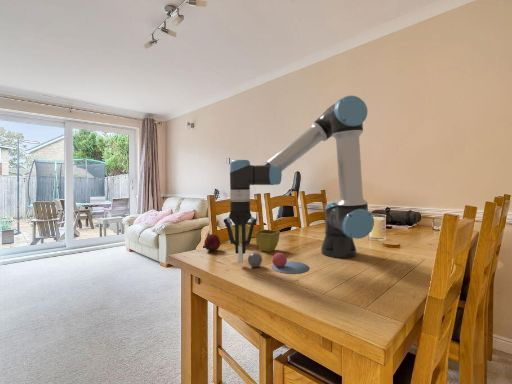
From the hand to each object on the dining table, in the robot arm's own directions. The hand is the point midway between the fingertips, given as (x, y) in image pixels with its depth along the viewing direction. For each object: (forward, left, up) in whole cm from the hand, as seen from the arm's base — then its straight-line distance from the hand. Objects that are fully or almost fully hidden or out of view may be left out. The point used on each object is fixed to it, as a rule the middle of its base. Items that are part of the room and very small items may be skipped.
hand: (240, 261), depth 102 cm
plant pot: (+4, -35, -2) cm, 35 cm away
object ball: (-15, 0, +1) cm, 15 cm away
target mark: (-19, 0, -2) cm, 19 cm away
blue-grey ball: (-5, 0, +1) cm, 6 cm away
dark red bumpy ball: (+16, -22, -2) cm, 27 cm away
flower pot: (-10, -24, -2) cm, 26 cm away
